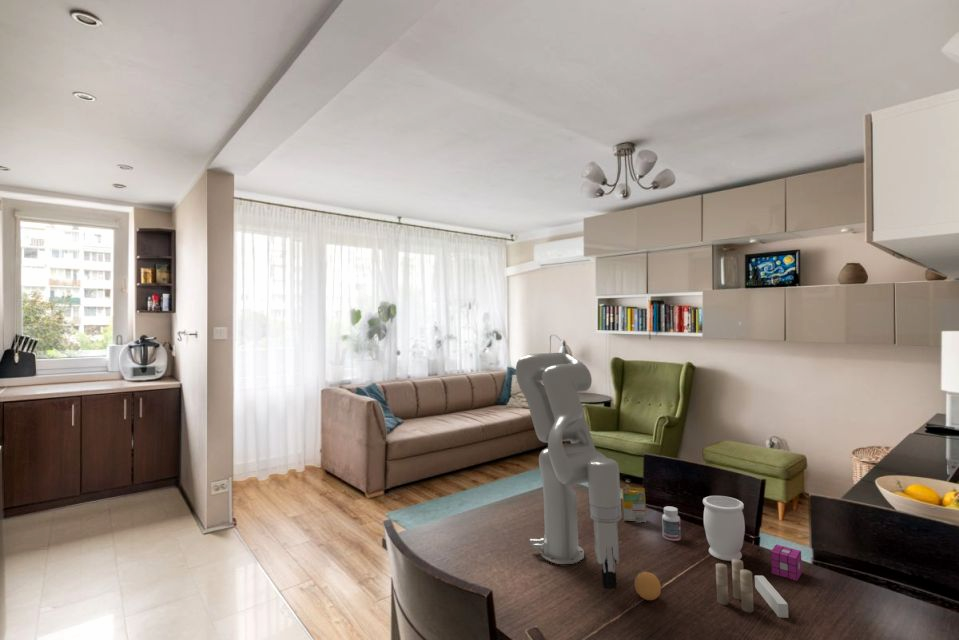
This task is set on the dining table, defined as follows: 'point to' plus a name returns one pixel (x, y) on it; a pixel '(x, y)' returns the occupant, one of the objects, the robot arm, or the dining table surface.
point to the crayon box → (634, 504)
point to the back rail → (771, 596)
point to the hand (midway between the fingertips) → (609, 587)
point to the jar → (724, 526)
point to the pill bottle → (671, 524)
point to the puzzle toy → (786, 562)
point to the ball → (647, 585)
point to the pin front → (722, 584)
